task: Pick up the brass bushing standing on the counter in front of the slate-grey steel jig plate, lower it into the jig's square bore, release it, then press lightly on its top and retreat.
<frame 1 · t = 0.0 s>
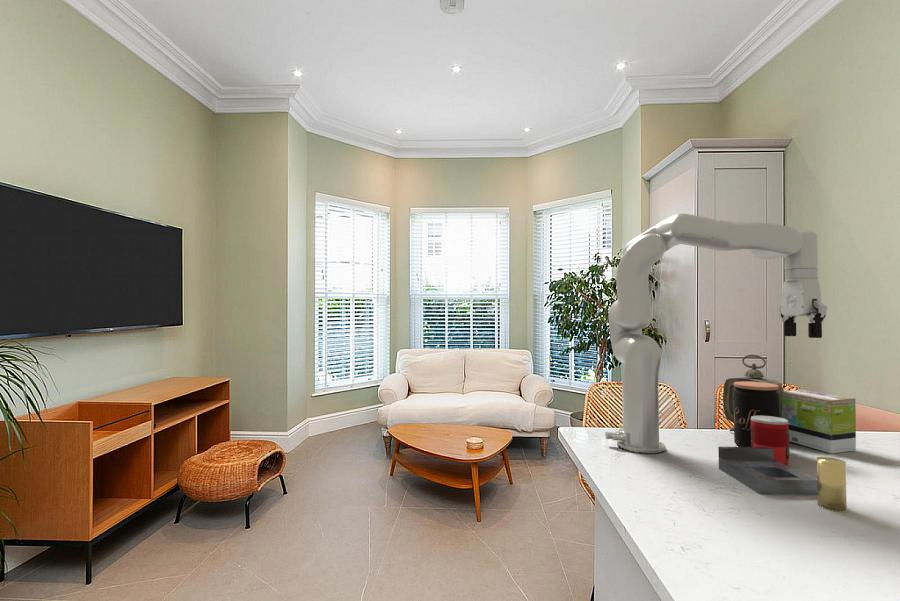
hand: (802, 336, 132), 31 cm above the table, tool pointing down, fingers open, 9 cm apart
canned food: (770, 463, 119), on the table
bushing: (831, 506, 92), on the table
coffee jar: (756, 449, 131), on the table
tabletop clock: (755, 436, 145), on the table, touching tea box
jig: (765, 481, 106), on the table
tea box: (816, 446, 135), on the table, touching tabletop clock
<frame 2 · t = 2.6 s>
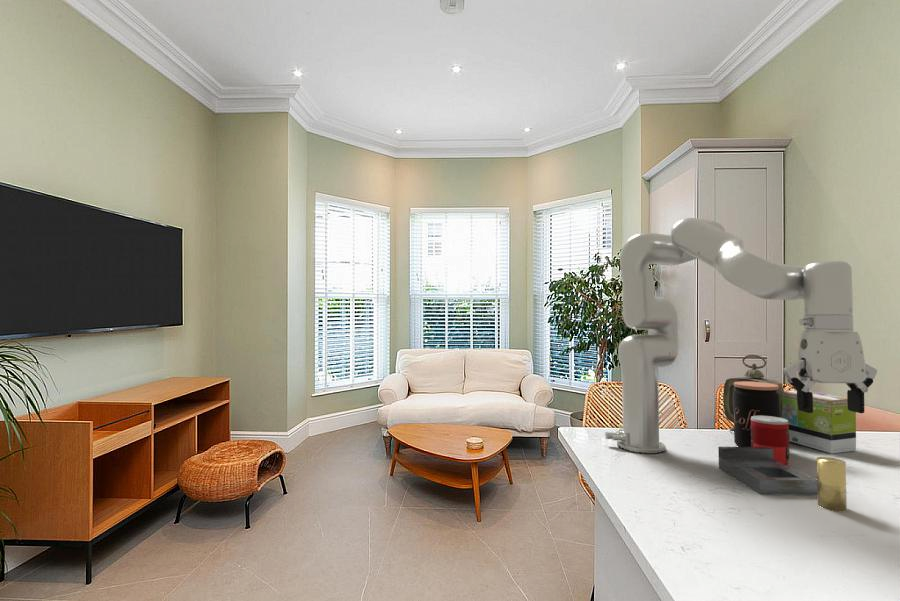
hand: (830, 411, 92), 18 cm above the table, tool pointing down, fingers open, 9 cm apart
nothing on the table moved.
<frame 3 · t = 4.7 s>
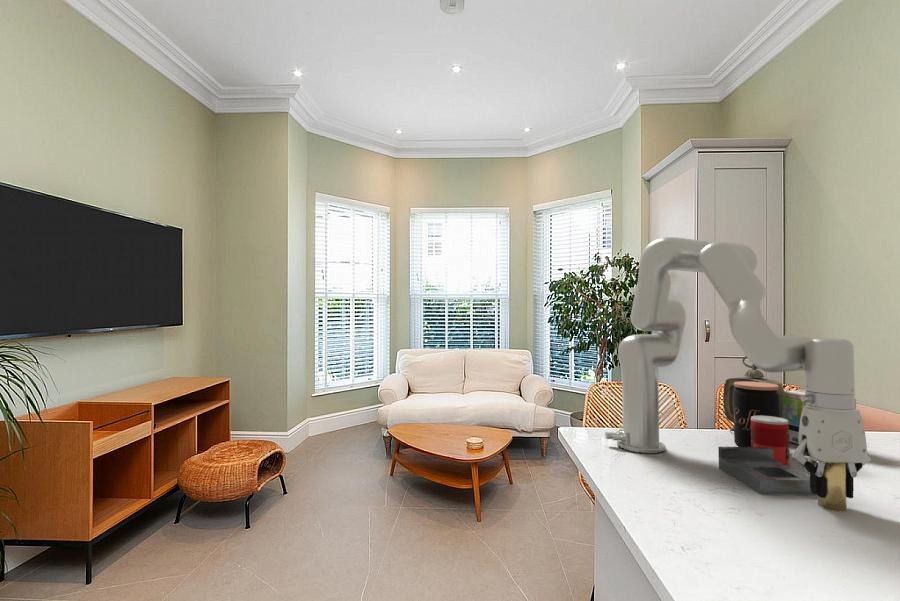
hand: (831, 494, 92), 2 cm above the table, tool pointing down, fingers closed on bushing, 4 cm apart
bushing: (831, 506, 92), on the table, touching gripper
everything else where it was.
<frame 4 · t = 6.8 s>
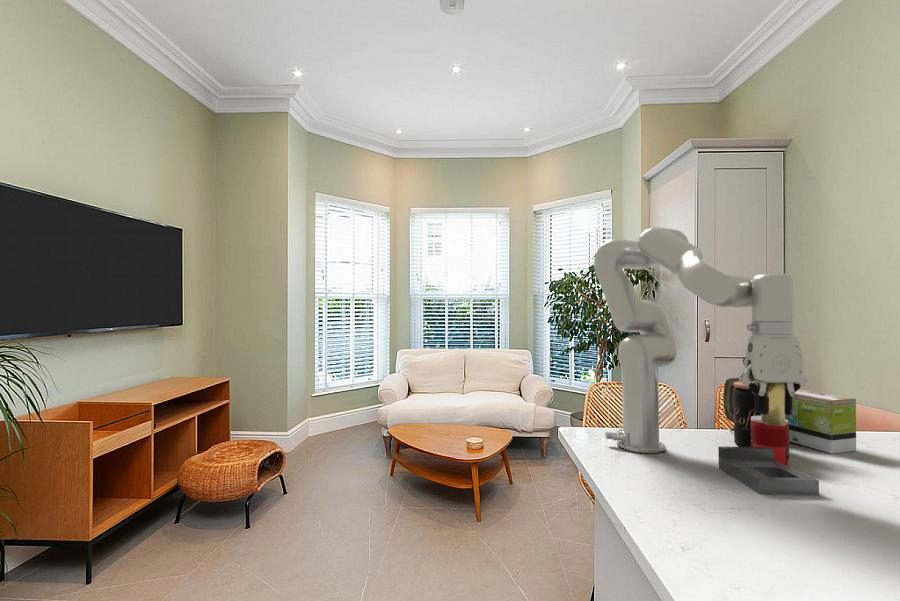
hand: (773, 412, 103), 16 cm above the table, tool pointing down, fingers closed on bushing, 4 cm apart
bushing: (773, 423, 103), point 14 cm above the table, touching gripper
everything else where it was.
when the fingers open (4 cm above the table, at t = 9.0 s): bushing drops 1 cm, resting in jig.
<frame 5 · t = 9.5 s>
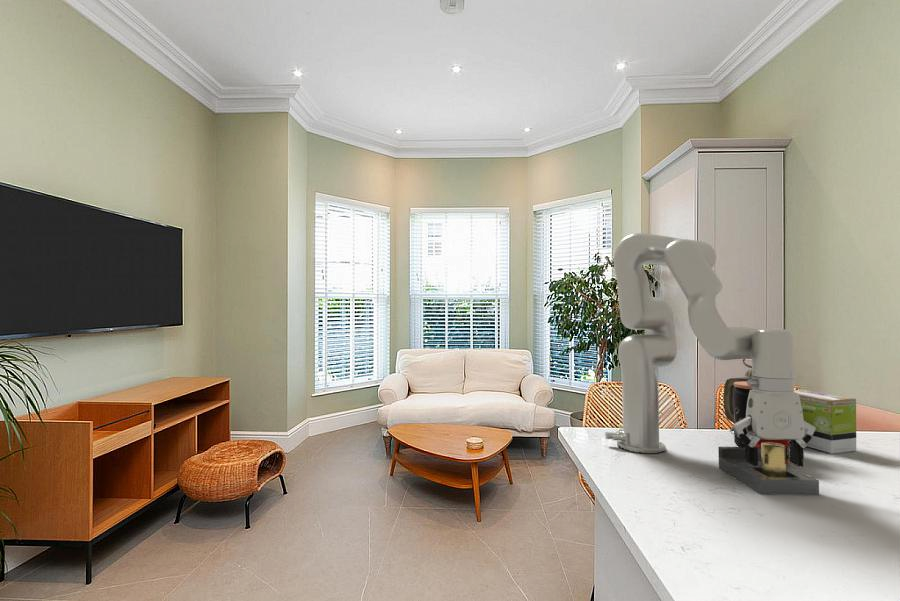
hand: (774, 464, 103), 5 cm above the table, tool pointing down, fingers open, 9 cm apart
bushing: (773, 486, 103), resting in jig
everything else where it was.
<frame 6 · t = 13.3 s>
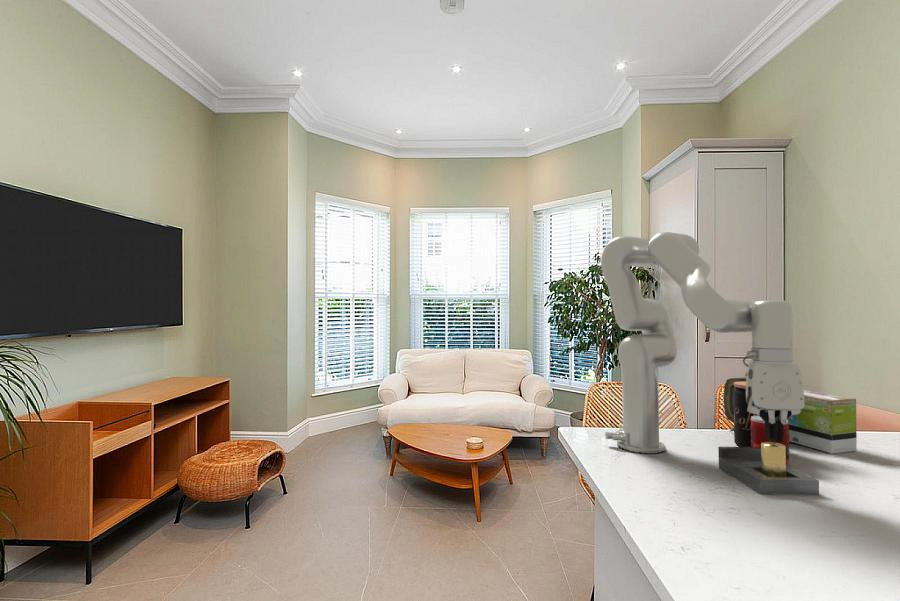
hand: (774, 440, 103), 10 cm above the table, tool pointing down, fingers closed
nothing on the table moved.
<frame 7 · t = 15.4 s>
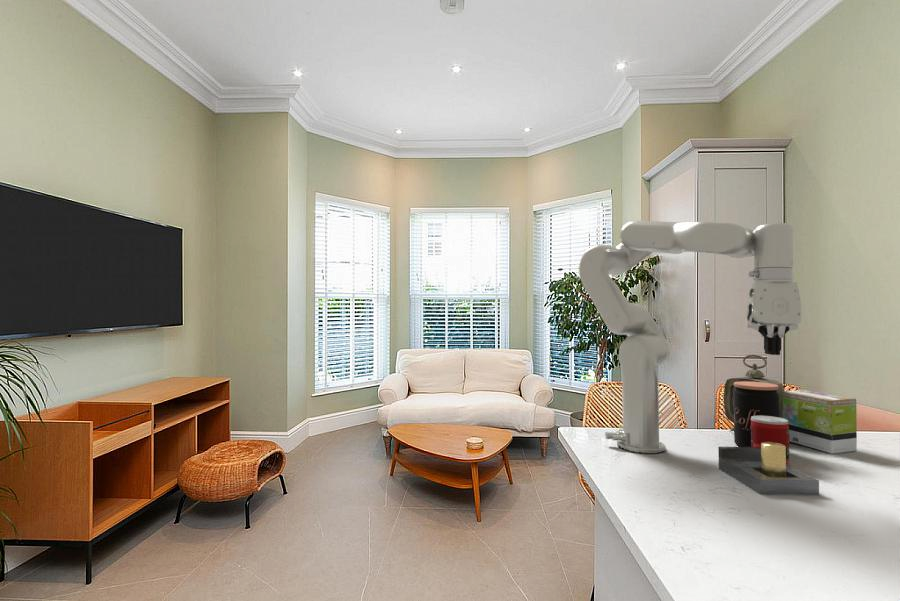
hand: (772, 354, 111), 28 cm above the table, tool pointing down, fingers closed
nothing on the table moved.
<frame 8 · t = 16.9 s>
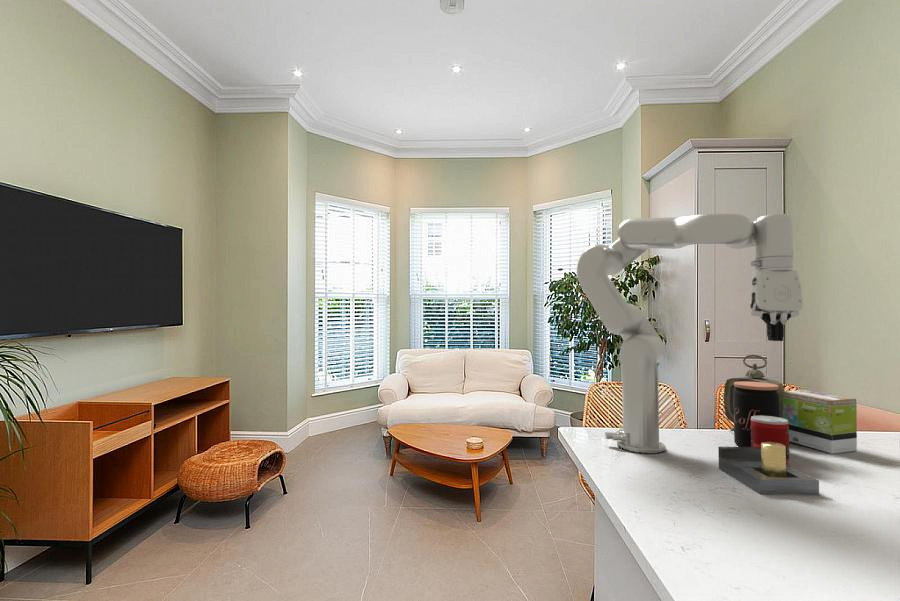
hand: (775, 340, 114), 31 cm above the table, tool pointing down, fingers closed
nothing on the table moved.
at the end: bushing 0.1 cm from the target spot on the jig, point 0.0 cm above the jig's base; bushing tilted 0°; the gripper is holding nothing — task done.
